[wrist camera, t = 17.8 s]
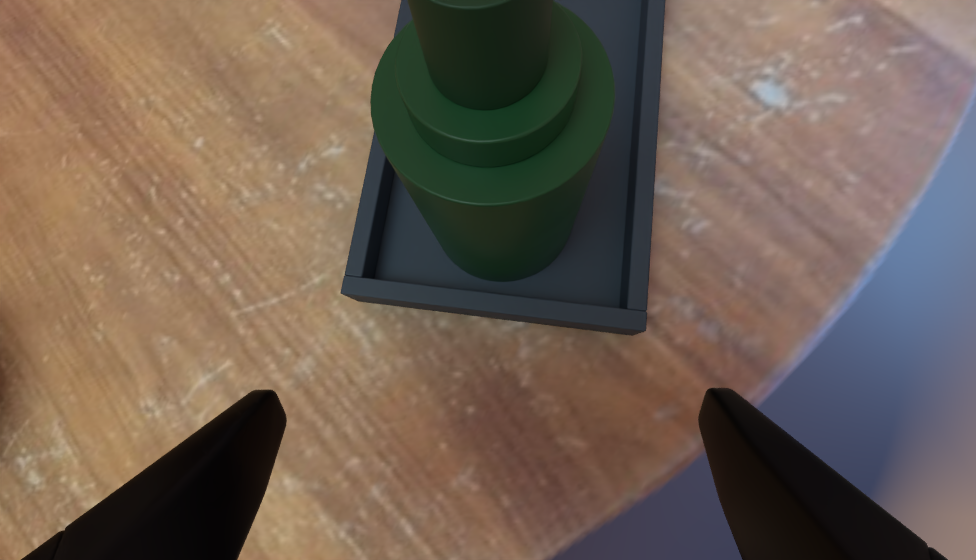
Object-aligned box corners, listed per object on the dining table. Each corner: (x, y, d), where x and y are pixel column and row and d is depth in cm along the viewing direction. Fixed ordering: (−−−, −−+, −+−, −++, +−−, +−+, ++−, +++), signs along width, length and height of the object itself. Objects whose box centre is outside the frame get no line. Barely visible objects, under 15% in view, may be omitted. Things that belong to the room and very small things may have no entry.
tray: (632, 335, 19) (646, 331, 17) (357, 301, 20) (340, 293, 18) (667, -189, 25) (679, -236, 23) (454, -191, 26) (449, -236, 24)
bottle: (568, 288, 19) (666, 117, 6) (426, 276, 20) (256, 97, 7) (576, 155, 20) (672, -206, 8) (443, 148, 21) (327, -201, 8)
